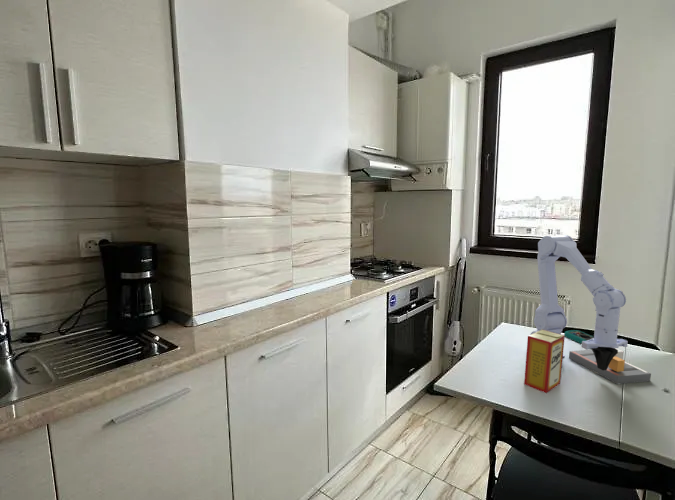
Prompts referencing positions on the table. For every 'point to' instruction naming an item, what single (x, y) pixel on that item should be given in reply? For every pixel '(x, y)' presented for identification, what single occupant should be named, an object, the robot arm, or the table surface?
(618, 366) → the orange small block
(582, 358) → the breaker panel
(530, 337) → the baking soda box
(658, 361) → the table surface
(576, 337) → the digital multimeter
